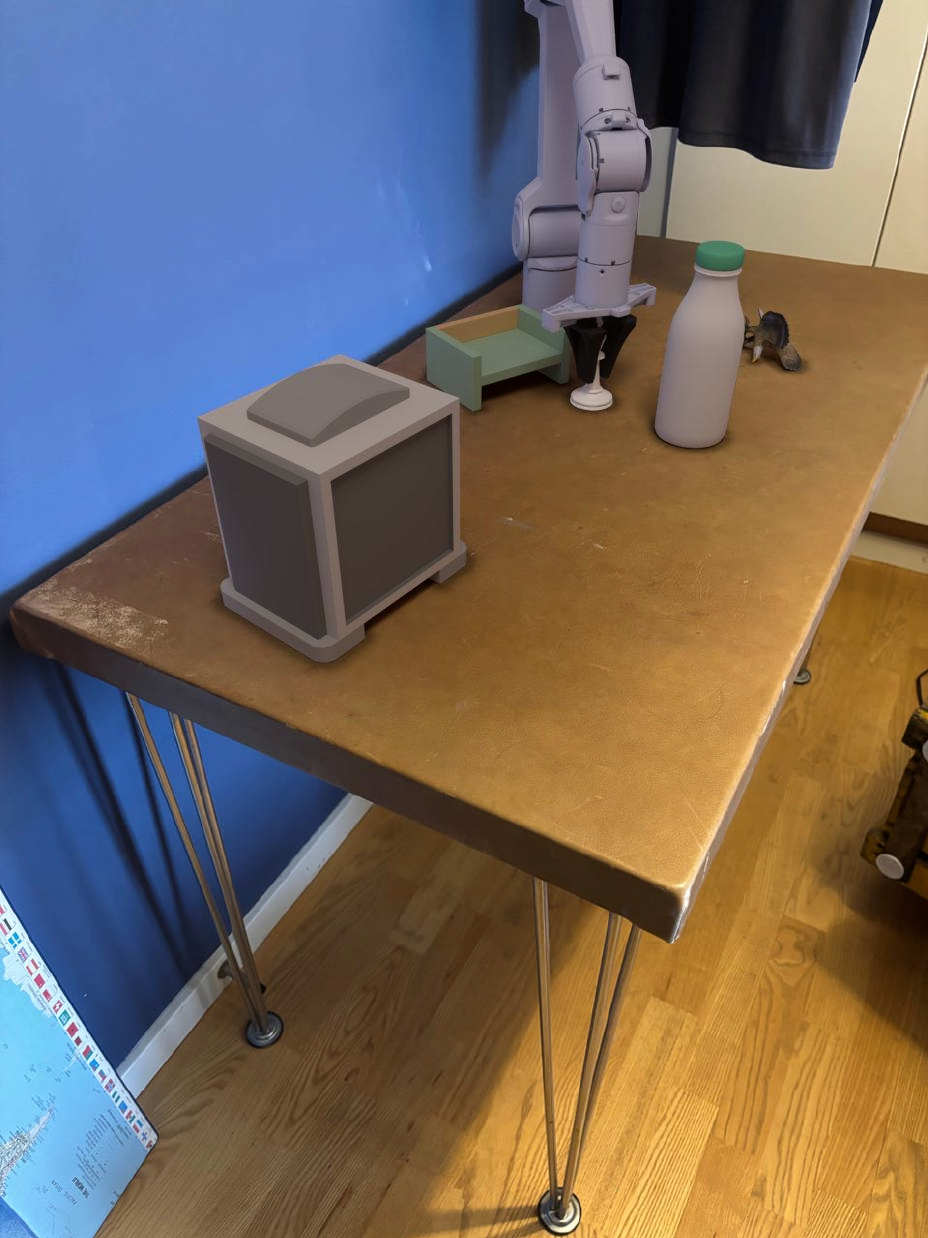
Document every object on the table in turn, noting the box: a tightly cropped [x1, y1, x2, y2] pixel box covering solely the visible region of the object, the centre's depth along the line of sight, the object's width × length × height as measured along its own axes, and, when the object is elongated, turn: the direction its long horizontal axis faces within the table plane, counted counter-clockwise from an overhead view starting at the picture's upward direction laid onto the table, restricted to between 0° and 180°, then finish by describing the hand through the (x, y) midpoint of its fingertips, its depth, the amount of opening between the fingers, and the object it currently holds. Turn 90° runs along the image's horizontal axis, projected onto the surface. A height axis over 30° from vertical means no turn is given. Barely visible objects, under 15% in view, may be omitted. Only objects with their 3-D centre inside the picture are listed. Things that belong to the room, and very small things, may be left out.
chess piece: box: [569, 317, 613, 412], centre depth 103 cm, size 5×5×10 cm
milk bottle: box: [654, 240, 746, 449], centre depth 94 cm, size 8×8×20 cm
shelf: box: [425, 303, 572, 412], centre depth 109 cm, size 14×10×6 cm
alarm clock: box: [196, 353, 468, 664], centre depth 74 cm, size 18×13×18 cm
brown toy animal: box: [742, 307, 803, 372], centre depth 114 cm, size 8×7×9 cm
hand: (593, 377), depth 105 cm, fingers closed on chess piece
